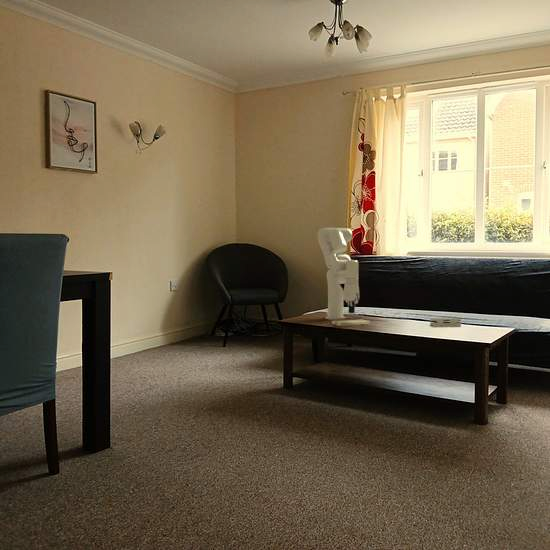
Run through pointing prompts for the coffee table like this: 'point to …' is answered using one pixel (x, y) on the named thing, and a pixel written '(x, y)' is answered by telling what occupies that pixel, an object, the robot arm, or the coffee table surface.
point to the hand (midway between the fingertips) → (351, 312)
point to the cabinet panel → (349, 321)
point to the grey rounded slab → (440, 322)
